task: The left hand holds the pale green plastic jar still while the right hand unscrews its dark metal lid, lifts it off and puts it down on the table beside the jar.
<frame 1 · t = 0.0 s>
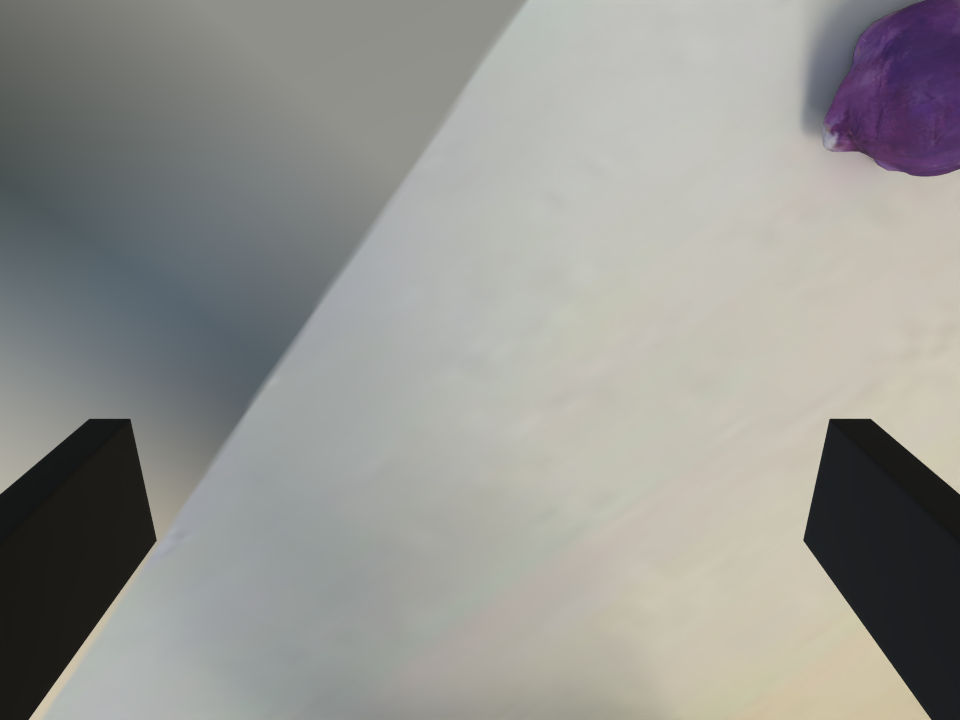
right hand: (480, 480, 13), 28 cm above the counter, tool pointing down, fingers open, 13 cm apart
figurine: (917, 71, 36), on the counter
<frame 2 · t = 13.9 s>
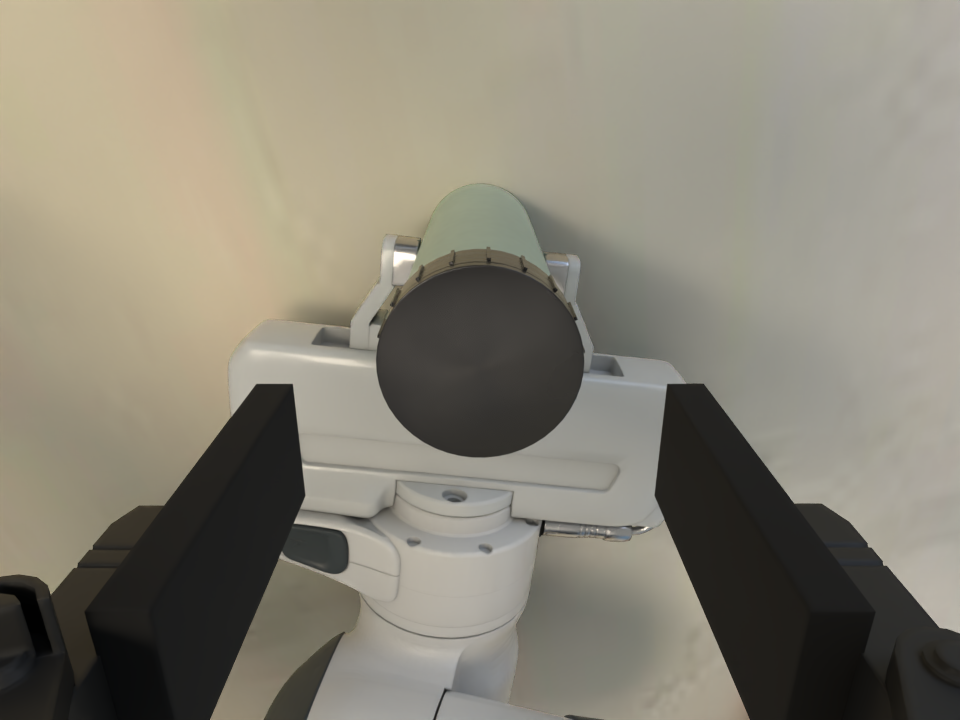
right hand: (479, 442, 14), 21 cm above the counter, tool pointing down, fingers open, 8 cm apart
left hand: (481, 246, 28), fingers closed on jar, 5 cm apart
lid: (480, 362, 19), point 17 cm above the counter, screwed on, not yet turned
jar: (480, 237, 34), on the counter, touching left hand
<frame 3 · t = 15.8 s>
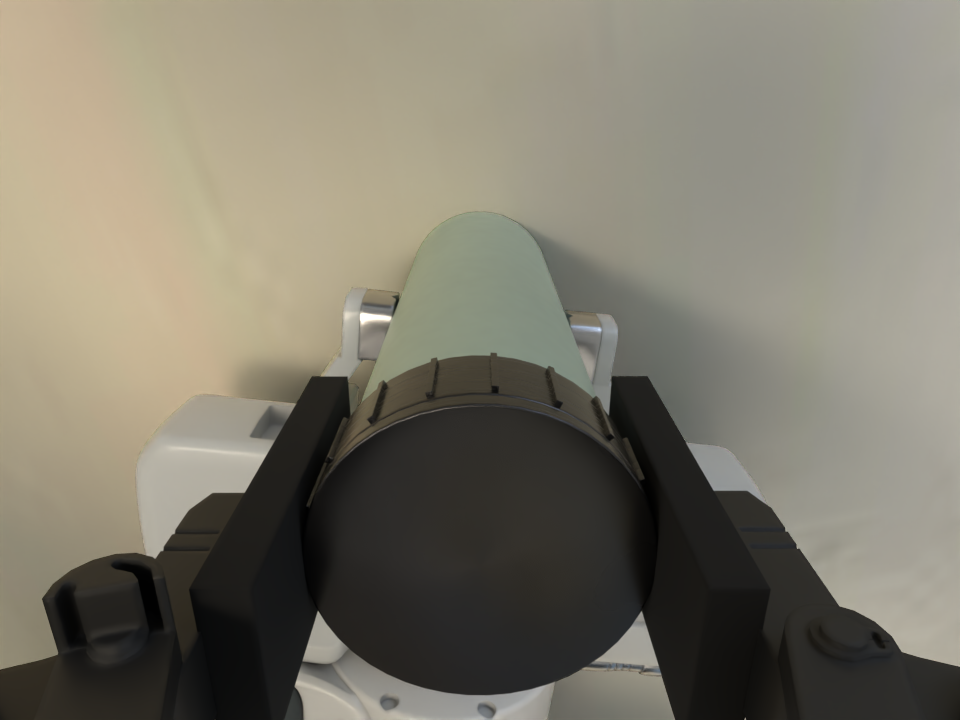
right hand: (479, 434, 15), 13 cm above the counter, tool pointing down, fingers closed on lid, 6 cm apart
lid: (479, 550, 11), point 17 cm above the counter, screwed on, not yet turned, touching right hand
jar: (479, 279, 27), on the counter, touching left hand
when the right hand's fingers open (13 cm above the counter, at t = 17.2 s): lid stays where it is, point 17 cm above the counter.
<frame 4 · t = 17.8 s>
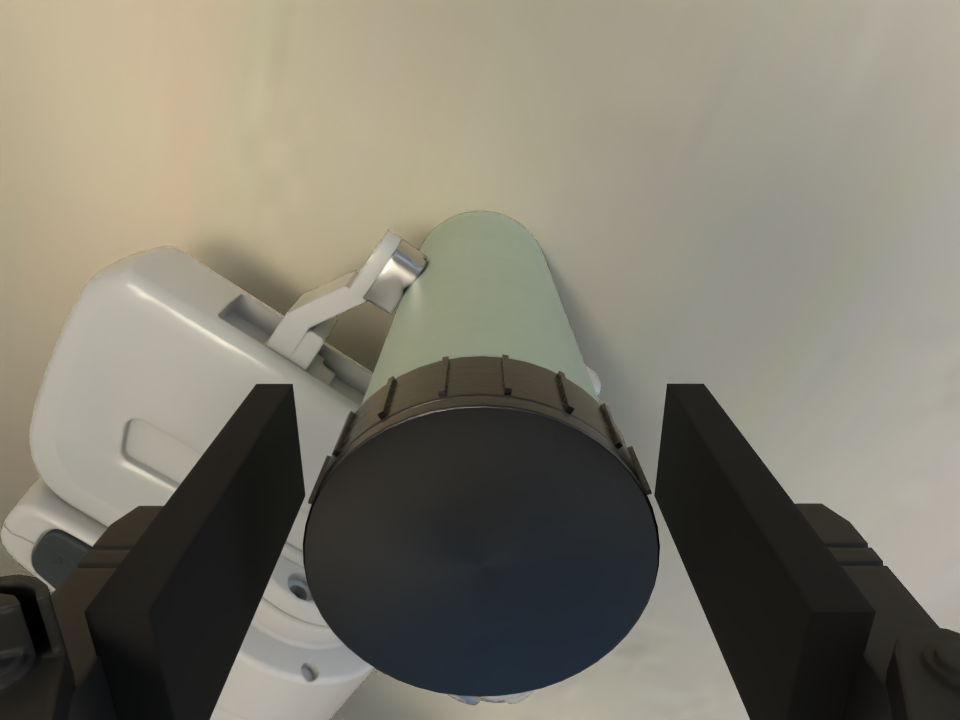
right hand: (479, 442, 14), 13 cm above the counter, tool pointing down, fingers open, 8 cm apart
lid: (481, 551, 11), point 17 cm above the counter, turned 86° so far, risen 0.3 cm, still on its thread
jar: (480, 277, 27), on the counter, touching left hand
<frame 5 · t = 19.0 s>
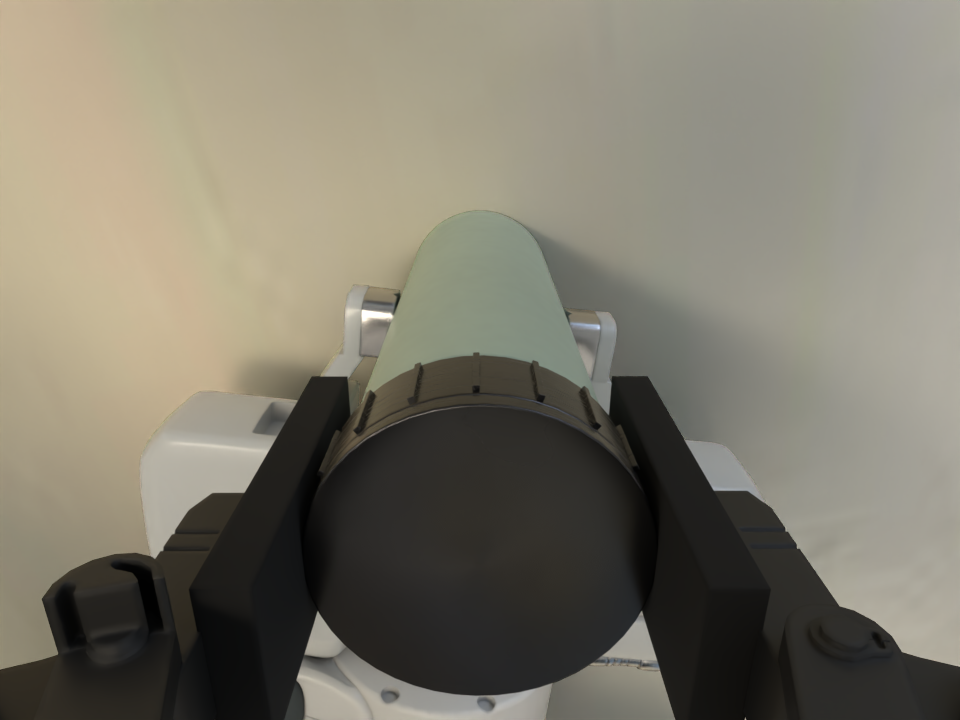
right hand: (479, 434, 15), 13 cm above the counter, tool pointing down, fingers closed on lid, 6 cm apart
lid: (479, 551, 11), point 17 cm above the counter, turned 86° so far, risen 0.3 cm, still on its thread, touching right hand
jar: (479, 277, 27), on the counter, touching left hand
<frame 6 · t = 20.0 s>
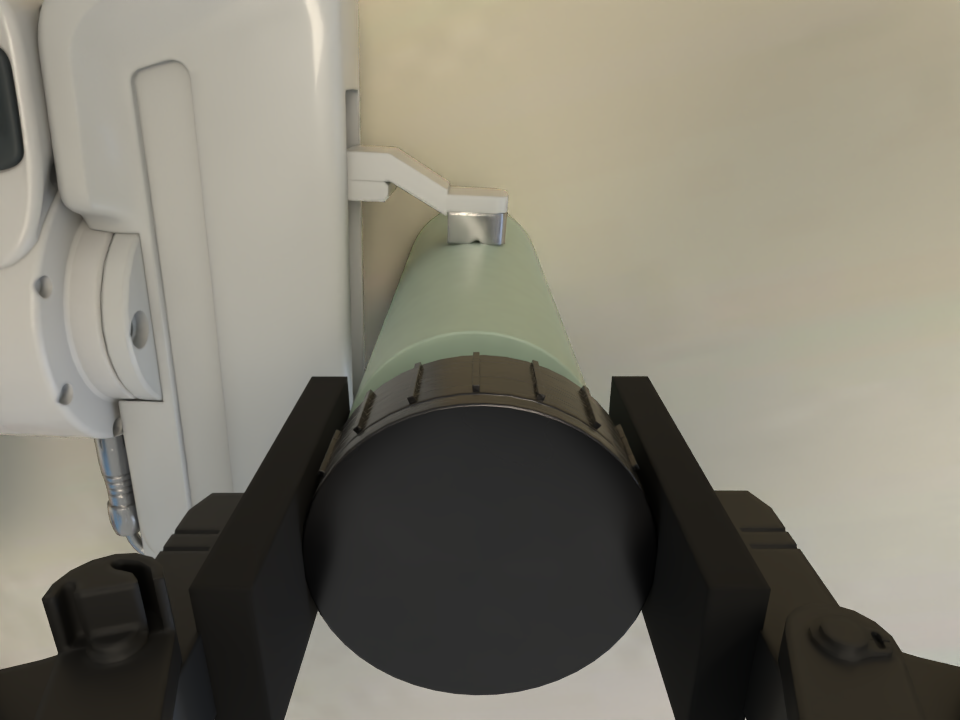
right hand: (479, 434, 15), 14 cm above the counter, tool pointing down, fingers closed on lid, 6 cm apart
left hand: (500, 317, 22), fingers closed on jar, 5 cm apart
lid: (479, 550, 11), point 18 cm above the counter, off its thread, touching right hand
jar: (473, 269, 28), on the counter, touching right hand, left hand
when the right hand's fingers open (0 cm above the counter, at t = 25.0 s): lid stays where it is, point 2 cm above the counter.
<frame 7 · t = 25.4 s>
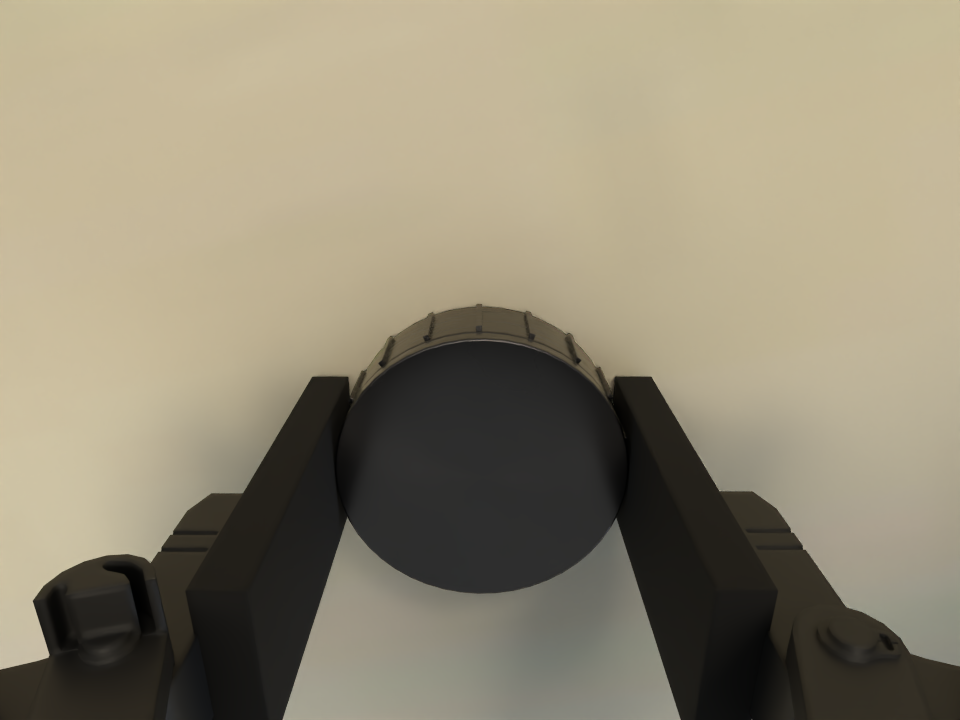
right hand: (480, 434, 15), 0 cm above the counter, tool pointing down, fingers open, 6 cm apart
lid: (481, 467, 13), point 2 cm above the counter, off its thread
when the left hand's fingers open (6 cm above the counter, at t = 26.1 s): jar stays where it is, on the counter.
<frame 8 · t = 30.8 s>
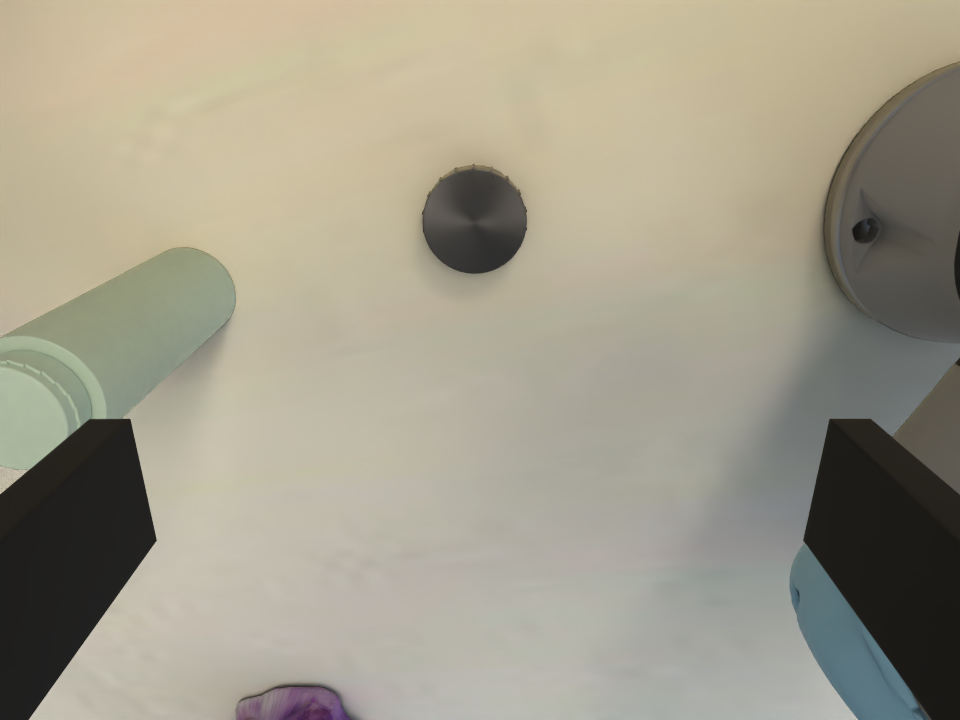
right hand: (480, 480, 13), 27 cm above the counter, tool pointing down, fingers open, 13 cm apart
lid: (474, 221, 37), point 2 cm above the counter, off its thread
jar: (190, 291, 40), on the counter
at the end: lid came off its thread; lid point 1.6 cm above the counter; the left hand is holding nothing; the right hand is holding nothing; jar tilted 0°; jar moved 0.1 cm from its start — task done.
